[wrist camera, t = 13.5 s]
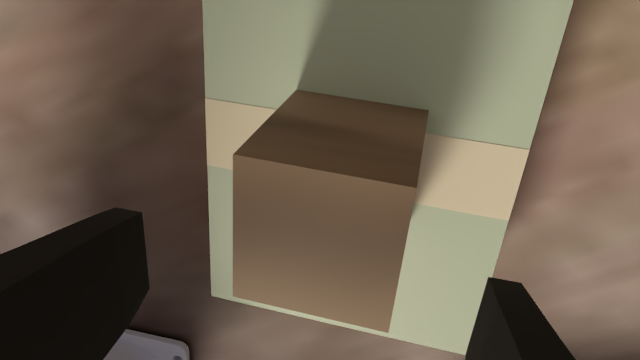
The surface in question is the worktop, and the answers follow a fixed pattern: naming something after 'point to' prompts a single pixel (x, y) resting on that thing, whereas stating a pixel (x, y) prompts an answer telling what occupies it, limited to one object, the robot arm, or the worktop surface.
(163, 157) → the worktop surface
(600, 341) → the worktop surface
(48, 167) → the worktop surface
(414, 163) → the walnut block
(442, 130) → the lid
